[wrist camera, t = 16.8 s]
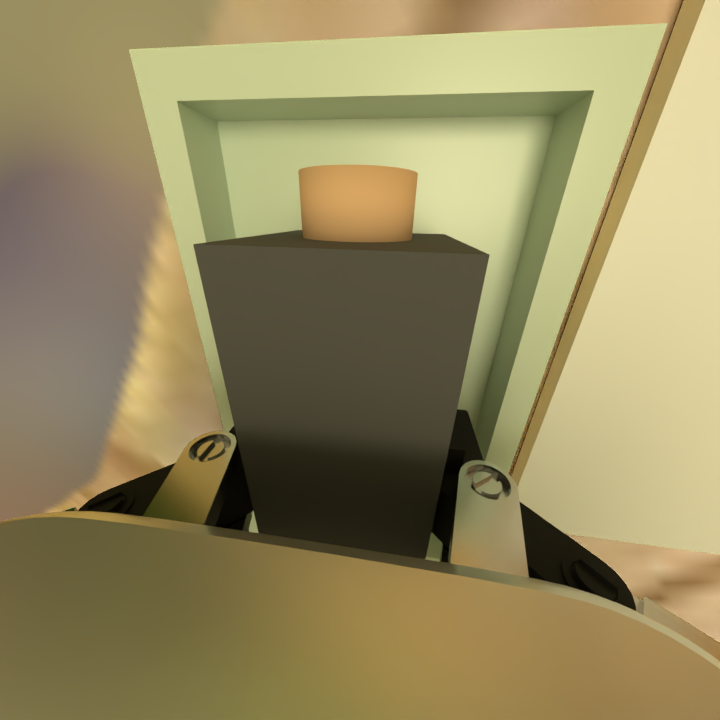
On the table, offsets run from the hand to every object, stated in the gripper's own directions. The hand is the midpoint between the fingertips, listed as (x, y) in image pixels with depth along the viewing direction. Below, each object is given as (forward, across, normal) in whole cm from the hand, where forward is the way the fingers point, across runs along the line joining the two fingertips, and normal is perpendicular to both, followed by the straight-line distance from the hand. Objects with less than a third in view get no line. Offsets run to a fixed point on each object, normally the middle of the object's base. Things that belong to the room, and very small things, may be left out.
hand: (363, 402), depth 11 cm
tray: (+2, 0, 0) cm, 2 cm away
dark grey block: (0, 0, 0) cm, 0 cm away
